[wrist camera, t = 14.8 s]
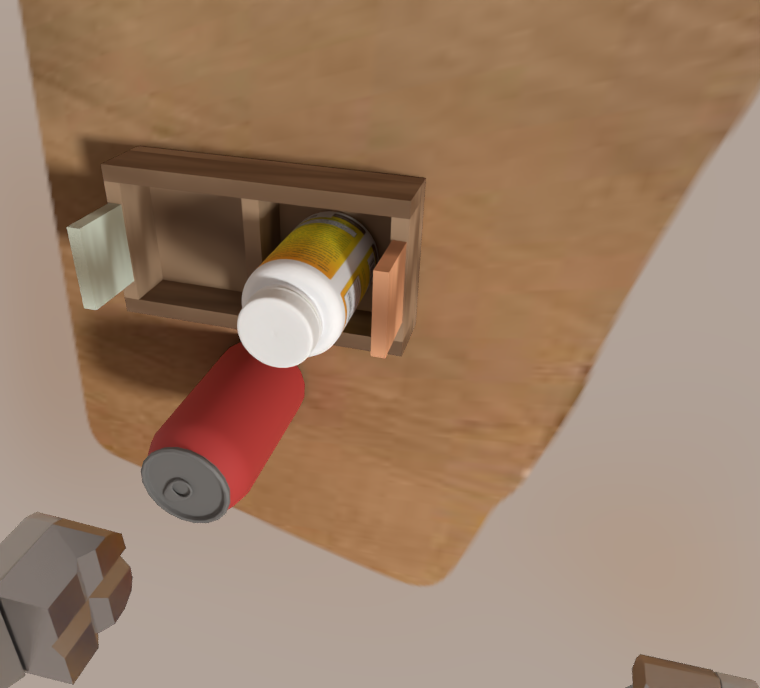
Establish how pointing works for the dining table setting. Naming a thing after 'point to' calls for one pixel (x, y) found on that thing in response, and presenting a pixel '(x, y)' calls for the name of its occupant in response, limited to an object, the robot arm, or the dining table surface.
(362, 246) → the supplement bottle
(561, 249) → the dining table surface
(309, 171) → the wooden compartment tray
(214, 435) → the beer can
